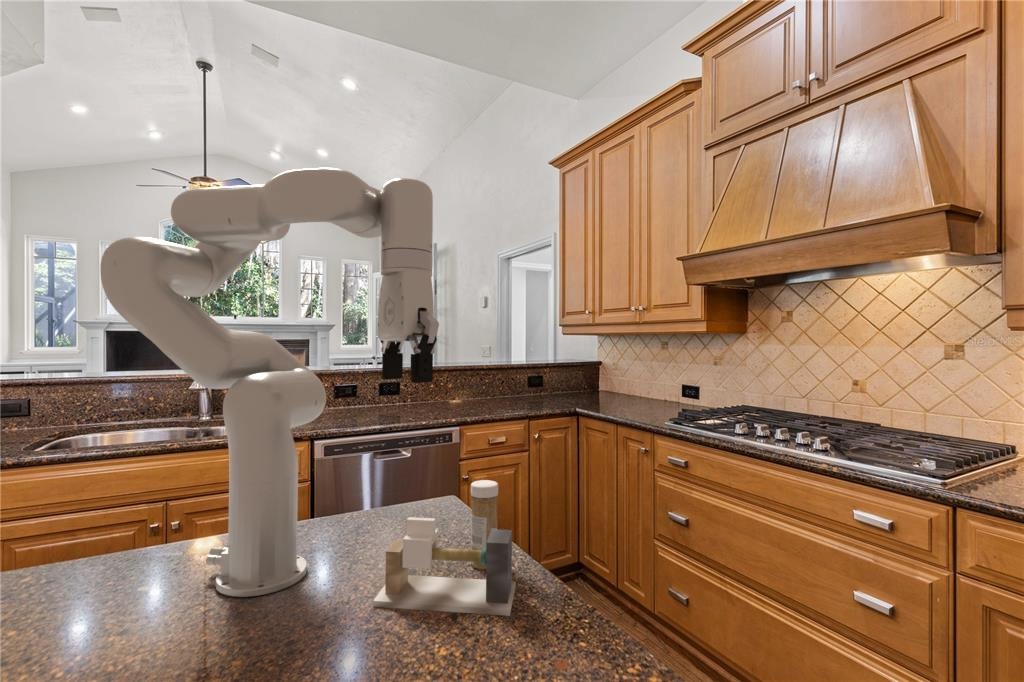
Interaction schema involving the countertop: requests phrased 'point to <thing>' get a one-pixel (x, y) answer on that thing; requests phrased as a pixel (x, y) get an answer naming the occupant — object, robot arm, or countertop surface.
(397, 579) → the linear actuator
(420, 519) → the sleeve
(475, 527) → the sprinkles bottle
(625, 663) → the countertop surface
